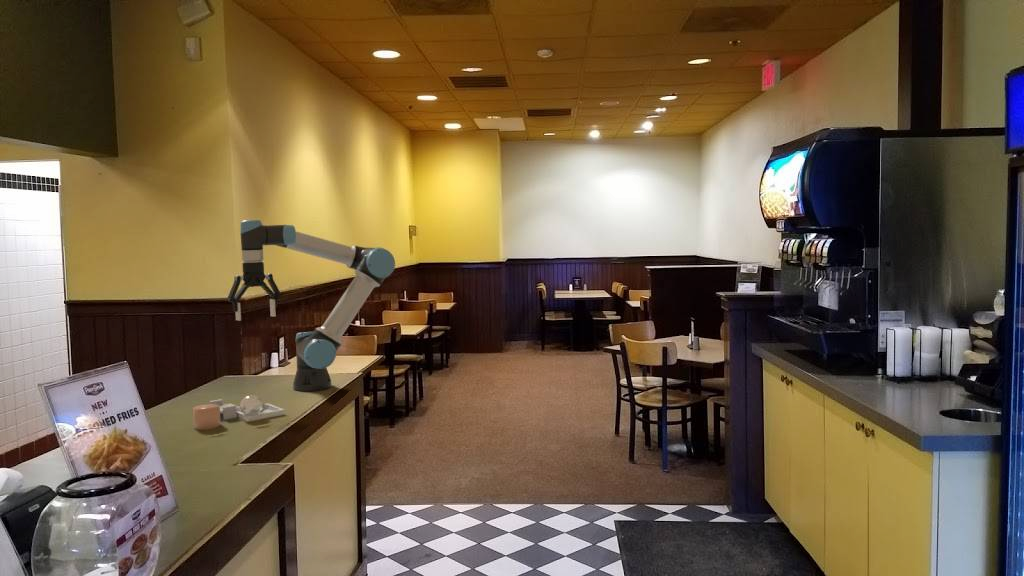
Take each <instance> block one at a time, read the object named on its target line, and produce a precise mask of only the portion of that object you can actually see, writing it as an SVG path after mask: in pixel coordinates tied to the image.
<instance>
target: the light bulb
mask: <svg viewBox="0 0 1024 576" xmlns="http://www.w3.org/2000/svg"><path fill="white" fill-rule="evenodd" d="M239 404H240V405H239V407H240V409H241V411H242V413H243V414H245V415H249V416H250V415H256V414H258V413H261V412H263V411H264V410H265V404H266V403H263V401H262V400H261V398H260V397H259V396H257V395H254V394H253V395H252V394H251V395H247V396H244V398H243V399H241V401H240V403H239Z"/></svg>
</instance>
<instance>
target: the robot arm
mask: <svg viewBox="0 0 1024 576" xmlns="http://www.w3.org/2000/svg"><path fill="white" fill-rule="evenodd" d="M239 234H240V243H241V244H240V245H241V246H240V247H241V261H242V275H234V278H233V279H234V281H233V283H232V287H231V289H230V291H229V293H228V296H227V298H226V301H227V302H229V303H232V311H233V312H235V321H239V322H240V321H242V314H241V313H242V312H241V310H242V309H241V302H239V301H240V299H241V298H242V296H244V294H245V292H246V291H247V290H248V289H249V288H254V287H260V288H261V289H262V290H263V291H264V292H266V295H268V296H269V297H270V299H269V311H270V314H269V315H270V317H277V315H276V308H277V307H278V299H279V298H281V297H282V293H281V291H280V289H279V287H278V286H277V284H276V282H275V280H274V277H273V276H274V275H273V274H272V273H266V274H265V264H264V262H263V261H264V246H277V247H280V248H284V249H288V250H292V251H295V252H300V253H303V254H305V255H310V256H314V257H317V258H320V259H321V258H322V259H325V260H328V261H332V262H336V263H340V264H343V265H346V267H347V269H353V270H354V273H355V277H354V278H353V279H352V281H351V282H350V284H349V285H348V286H347V288H346V290H345V291H344V292H343V294H342V296H341V297H340V298H339V300H338V302H337V303H336V305H335V306H334V308H333V309H332V311H331V312H330V314H329V315H328V317H327V318H326V320H325V321H324V323H323V324H322V326H319V327H316V328H315V329H314V330H313V331H305V332H304V331H303V332H297V333H296V335H295V347H296V348H295V349H296V350H295V351H296V372H295V376H294V379H293V382H292V389H293V390H295V391H299V392H313V391H323V390H326V389H329V388H331V387H332V379H331V376H330V373H329V371H328V369H327V368H328V367H330V366H331V365H333V363H334V361H335V359H336V358H337V351H338V350H339V349H340V347H341V346H342V339H341V338H342V337H343V335H344V334H345V332H346V331H347V329H348V328H349V326H350V325H351V323H352V322H353V320H354V319H355V317H356V316H357V314H358V313H359V311H360V309H361V308H362V307H363V305H364V304H365V302H366V301H367V298H369V296H370V294H371V293H372V291H373V290H374V288H379V287H380V286H381V285H382V283H383V282H384V280H385V279H386V278H387V277H389V276H390V275H392V273H393V272H394V271H395V268H396V261H395V257H394V255H393V254H392V252H390V251H389V250H387V249H386V248H383V247H363V246H358V245H354V244H353V245H352V246H349V245H346V244H342V243H340V242H335V241H332V240H328V239H325V238H320V237H316V236H313V235H310V234H308V233H303V232H300V231H296V228H295V226H294V225H293V224H273V225H272V224H271V225H265V224H264V225H263V223H262V220H260V219H259V220H258V219H256V220H255V219H252V220H251V219H250V220H248V219H246V220H242V221H241V222H240V233H239ZM265 280H267V283H268V285H269V286H270V287H269V286H268V285H267V283H266V282H265ZM242 281H243V283H242V284H241V282H242ZM240 284H241V287H240V288H239V286H240ZM238 289H239V290H238Z"/></svg>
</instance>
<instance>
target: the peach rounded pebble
mask: <svg viewBox="0 0 1024 576" xmlns="http://www.w3.org/2000/svg"><path fill="white" fill-rule="evenodd" d="M192 415H193V416H192V417H193V419H192V422H193V429H194V430H196V431H197V430H198V431H203V430H204V431H207V430H212V429H217V428H219V427H221V425H222V424H221V422H222V421H221V422H220V405H217V404H209V403H208V404H201V405H196V406H194V407H193V408H192Z"/></svg>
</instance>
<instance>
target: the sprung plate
mask: <svg viewBox="0 0 1024 576" xmlns="http://www.w3.org/2000/svg"><path fill="white" fill-rule="evenodd" d="M222 404H223V403H222ZM231 405H235V404H234V403H224V404H223V405H220V414H223V407H226V406H231ZM236 411H241V409H240V406H238V405H236Z"/></svg>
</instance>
